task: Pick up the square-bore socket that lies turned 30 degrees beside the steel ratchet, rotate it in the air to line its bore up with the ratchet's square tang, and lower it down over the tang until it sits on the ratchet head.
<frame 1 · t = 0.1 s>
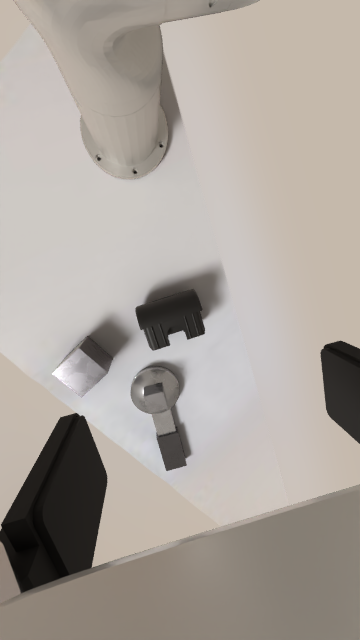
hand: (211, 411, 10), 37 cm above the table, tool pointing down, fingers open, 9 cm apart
socket: (88, 358, 47), on the table
end cap: (169, 313, 47), on the table
ratchet: (155, 388, 50), on the table
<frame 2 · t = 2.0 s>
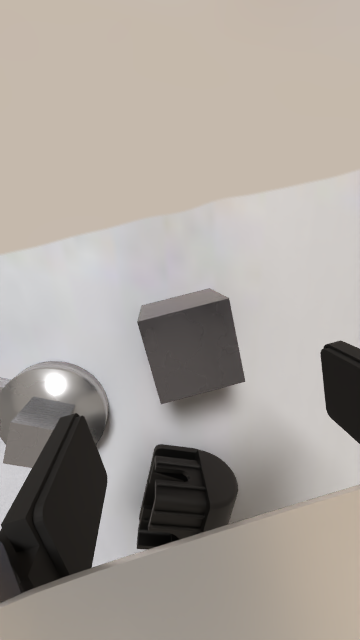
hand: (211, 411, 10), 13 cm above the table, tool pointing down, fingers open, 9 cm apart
socket: (183, 329, 23), on the table
end cap: (180, 483, 27), on the table
ratchet: (57, 408, 24), on the table
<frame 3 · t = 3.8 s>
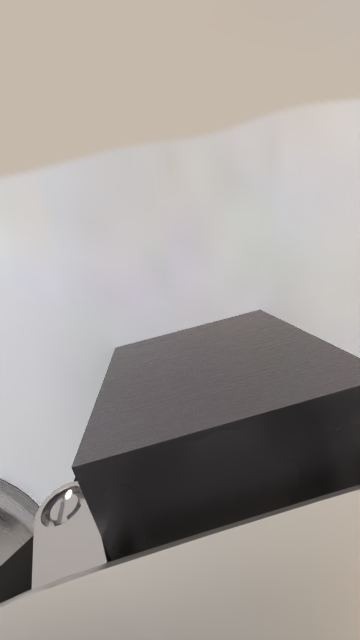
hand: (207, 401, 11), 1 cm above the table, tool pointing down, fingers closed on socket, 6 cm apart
socket: (204, 393, 11), on the table, touching gripper
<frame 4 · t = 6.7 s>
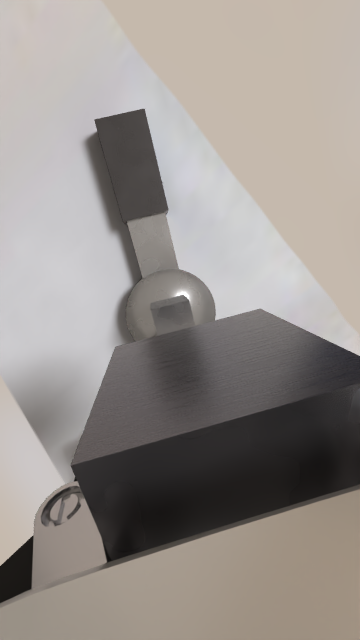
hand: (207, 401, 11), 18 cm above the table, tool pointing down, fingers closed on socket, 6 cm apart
socket: (204, 392, 11), point 17 cm above the table, touching gripper
ratchet: (170, 311, 28), on the table
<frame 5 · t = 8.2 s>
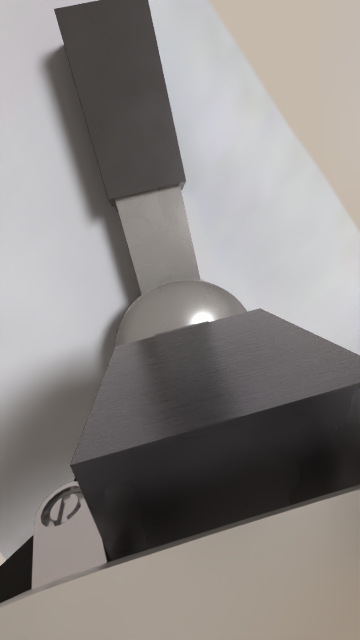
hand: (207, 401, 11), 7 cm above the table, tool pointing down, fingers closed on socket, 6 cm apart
socket: (204, 392, 11), point 7 cm above the table, touching gripper
ratchet: (184, 344, 18), on the table
when the fingers open (3 cm above the table, at t = 9.6 s): socket stays where it is, resting on ratchet.
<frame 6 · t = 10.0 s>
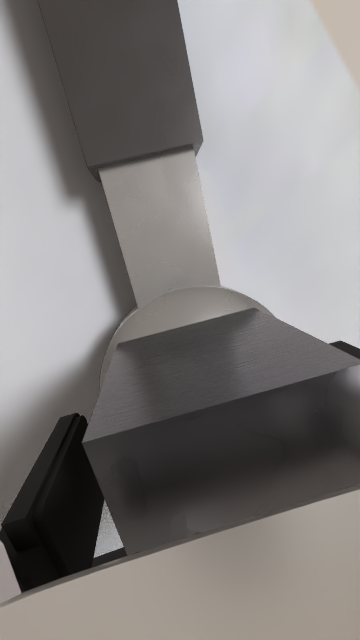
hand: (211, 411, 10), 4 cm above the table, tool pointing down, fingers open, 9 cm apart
socket: (201, 386, 12), point 2 cm above the table, touching ratchet
end cap: (150, 577, 17), on the table
ratchet: (195, 370, 13), on the table
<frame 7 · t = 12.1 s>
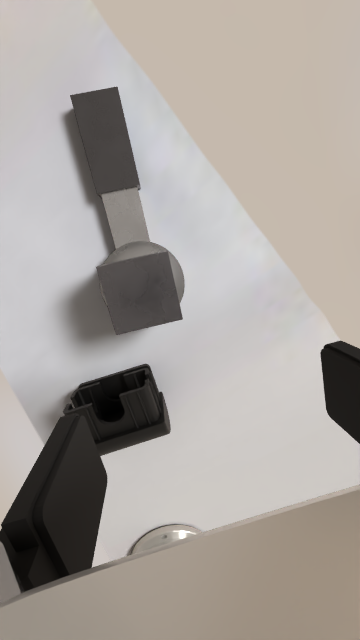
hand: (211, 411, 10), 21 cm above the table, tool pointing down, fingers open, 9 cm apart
socket: (143, 285, 28), point 2 cm above the table, touching ratchet
end cap: (123, 396, 33), on the table
ratchet: (143, 283, 29), on the table
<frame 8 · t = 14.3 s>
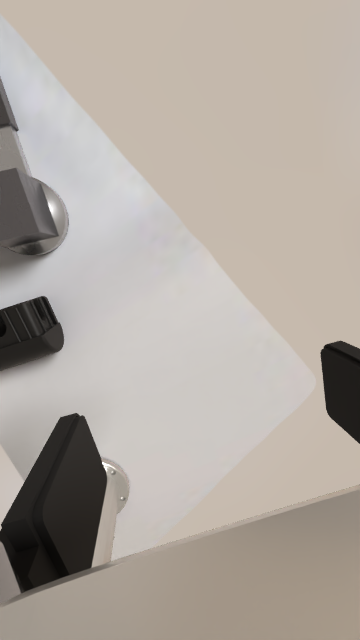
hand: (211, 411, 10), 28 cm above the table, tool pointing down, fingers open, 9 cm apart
socket: (25, 216, 31), point 2 cm above the table, touching ratchet
end cap: (26, 328, 36), on the table
ratchet: (31, 218, 33), on the table
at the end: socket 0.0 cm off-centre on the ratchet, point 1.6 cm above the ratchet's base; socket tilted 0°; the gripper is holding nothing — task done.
